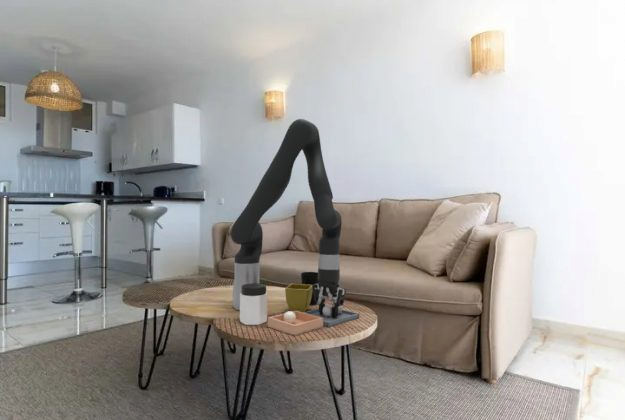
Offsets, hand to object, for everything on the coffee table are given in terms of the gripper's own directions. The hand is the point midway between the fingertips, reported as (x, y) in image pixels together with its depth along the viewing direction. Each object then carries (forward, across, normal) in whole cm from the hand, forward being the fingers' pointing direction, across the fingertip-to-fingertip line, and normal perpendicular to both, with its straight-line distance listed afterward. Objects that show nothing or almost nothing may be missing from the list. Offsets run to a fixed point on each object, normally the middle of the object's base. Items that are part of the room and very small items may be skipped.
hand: (328, 315), depth 137 cm
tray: (+1, 0, 0) cm, 1 cm away
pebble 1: (0, 0, 0) cm, 0 cm away
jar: (+1, -14, -22) cm, 26 cm away
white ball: (0, -3, -16) cm, 16 cm away
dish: (+1, 0, -16) cm, 16 cm away
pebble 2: (0, 0, +5) cm, 5 cm away
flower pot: (+1, -14, 0) cm, 14 cm away
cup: (+1, -19, +10) cm, 22 cm away
